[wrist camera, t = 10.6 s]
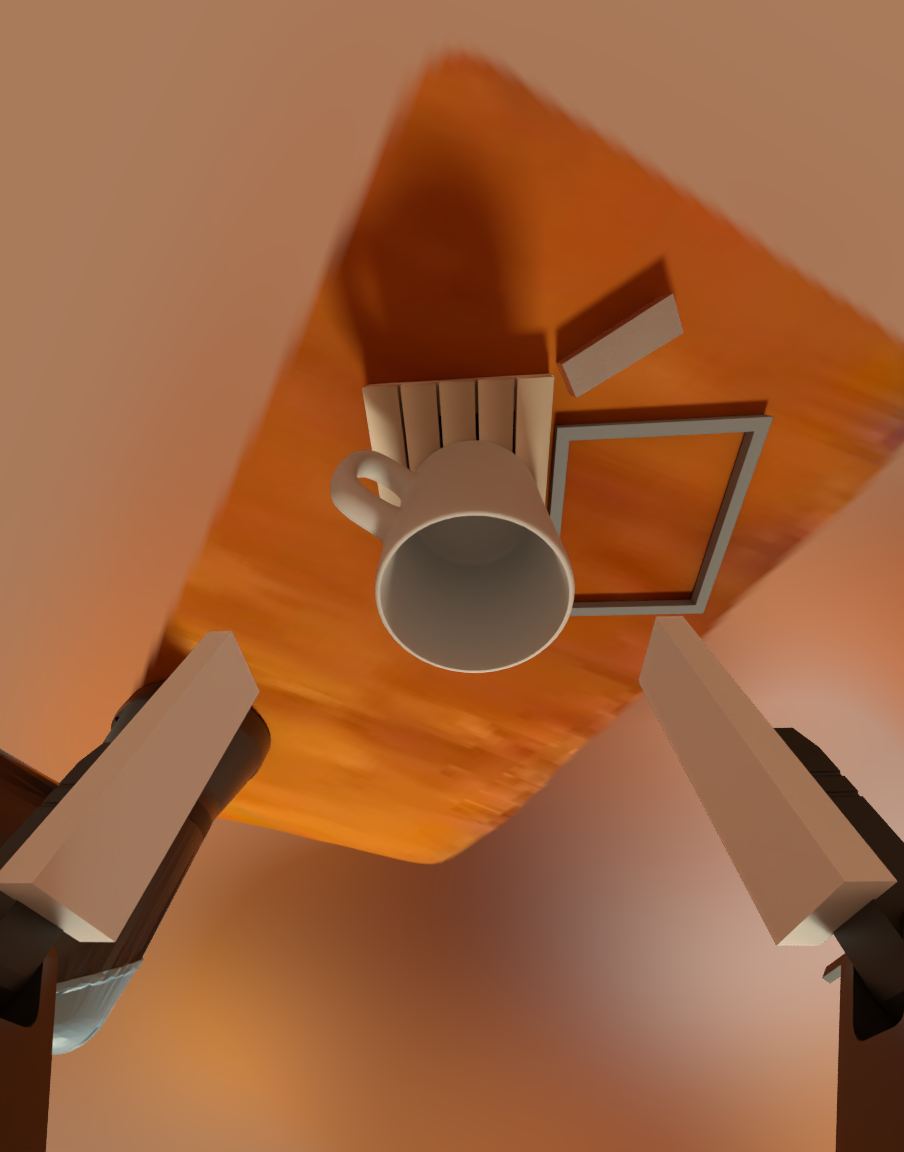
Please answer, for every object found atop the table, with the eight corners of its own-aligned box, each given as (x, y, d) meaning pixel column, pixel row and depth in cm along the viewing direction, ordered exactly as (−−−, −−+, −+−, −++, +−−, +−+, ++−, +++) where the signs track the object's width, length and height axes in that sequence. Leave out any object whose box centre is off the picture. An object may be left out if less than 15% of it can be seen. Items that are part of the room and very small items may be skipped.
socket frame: (540, 610, 32) (542, 616, 32) (555, 425, 25) (557, 427, 24) (698, 607, 32) (703, 613, 31) (764, 414, 24) (773, 416, 23)
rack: (396, 563, 30) (391, 578, 29) (368, 384, 24) (360, 388, 22) (536, 559, 30) (541, 574, 28) (549, 373, 23) (556, 376, 21)
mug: (565, 489, 25) (623, 581, 15) (486, 581, 28) (494, 700, 19) (402, 371, 21) (349, 397, 12) (338, 493, 25) (261, 584, 16)
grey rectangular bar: (568, 393, 24) (576, 397, 22) (555, 362, 23) (562, 364, 21) (667, 333, 22) (683, 332, 20) (656, 296, 21) (672, 293, 20)
